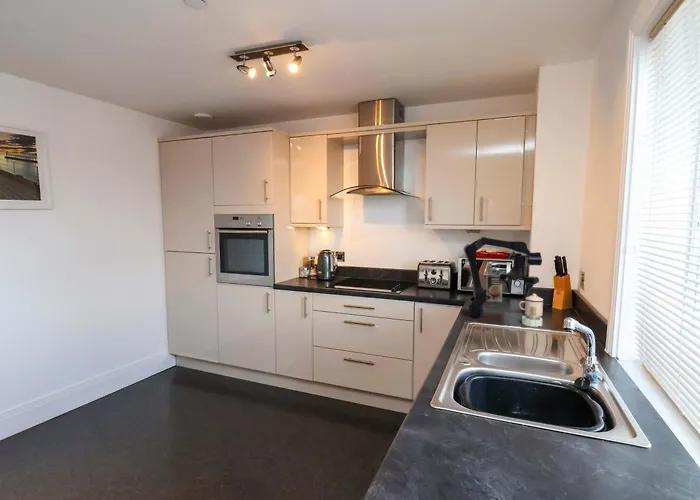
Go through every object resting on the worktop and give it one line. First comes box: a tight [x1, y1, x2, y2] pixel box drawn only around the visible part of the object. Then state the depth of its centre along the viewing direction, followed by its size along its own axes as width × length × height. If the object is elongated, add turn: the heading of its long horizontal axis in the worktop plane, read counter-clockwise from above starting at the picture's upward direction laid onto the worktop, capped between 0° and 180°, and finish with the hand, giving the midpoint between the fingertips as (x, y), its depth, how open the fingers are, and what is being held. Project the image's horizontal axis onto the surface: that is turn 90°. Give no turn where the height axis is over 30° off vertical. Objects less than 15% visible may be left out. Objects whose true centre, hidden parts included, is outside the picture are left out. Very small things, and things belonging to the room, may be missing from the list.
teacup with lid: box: [518, 293, 544, 318], centre depth 206 cm, size 12×9×12 cm
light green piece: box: [521, 315, 543, 328], centre depth 188 cm, size 9×9×3 cm
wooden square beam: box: [528, 306, 536, 320], centre depth 188 cm, size 2×2×8 cm
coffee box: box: [485, 274, 504, 303], centre depth 239 cm, size 9×6×16 cm
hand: (518, 294), depth 198 cm, fingers open, 9 cm apart
